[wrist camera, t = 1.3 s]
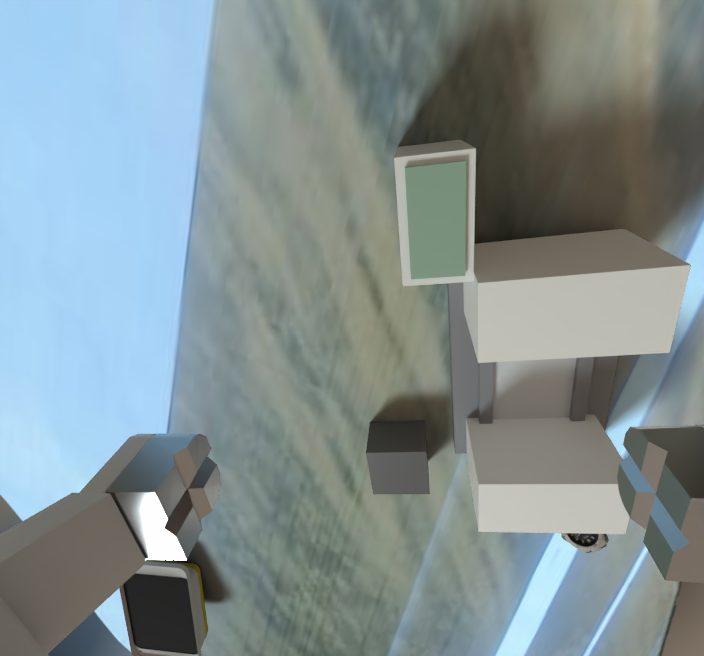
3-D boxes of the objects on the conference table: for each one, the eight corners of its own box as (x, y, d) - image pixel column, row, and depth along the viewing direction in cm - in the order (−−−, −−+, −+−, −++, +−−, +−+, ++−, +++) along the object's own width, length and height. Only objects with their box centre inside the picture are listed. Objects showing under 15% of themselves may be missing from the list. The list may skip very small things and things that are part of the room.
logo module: (397, 146, 27) (394, 158, 20) (460, 139, 26) (476, 148, 20) (403, 250, 30) (402, 288, 24) (459, 245, 29) (474, 283, 23)
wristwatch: (571, 474, 38) (593, 522, 34) (606, 511, 40) (631, 561, 35) (537, 490, 39) (554, 537, 35) (573, 525, 41) (592, 574, 37)
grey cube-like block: (370, 421, 38) (366, 452, 35) (424, 419, 37) (425, 451, 34) (376, 460, 40) (373, 494, 37) (427, 460, 39) (429, 494, 36)
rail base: (445, 240, 29) (458, 284, 22) (630, 221, 27) (714, 262, 20) (453, 449, 38) (464, 531, 31) (593, 447, 36) (640, 534, 29)
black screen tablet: (215, 635, 56) (203, 541, 53) (199, 668, 52) (185, 568, 49) (153, 629, 57) (137, 536, 54) (133, 660, 53) (114, 562, 50)
